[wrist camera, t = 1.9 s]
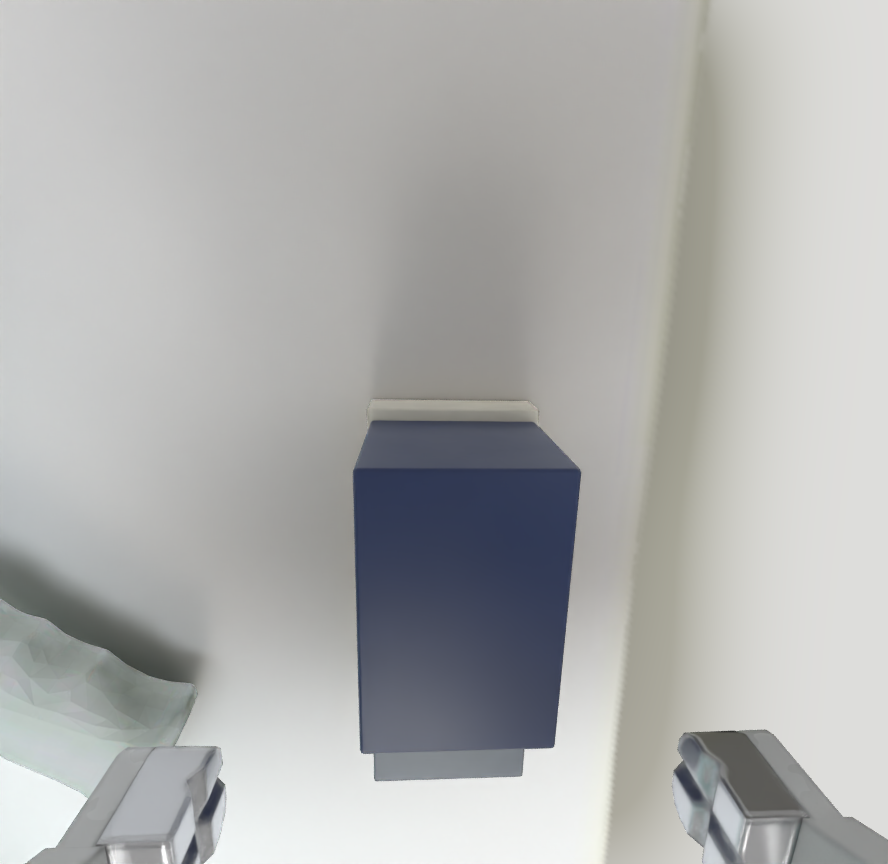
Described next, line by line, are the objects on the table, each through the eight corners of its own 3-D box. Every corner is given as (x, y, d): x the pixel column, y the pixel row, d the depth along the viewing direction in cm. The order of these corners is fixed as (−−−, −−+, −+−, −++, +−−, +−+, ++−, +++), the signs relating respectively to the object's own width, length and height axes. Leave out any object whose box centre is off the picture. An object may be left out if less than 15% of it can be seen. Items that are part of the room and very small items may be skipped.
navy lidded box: (370, 398, 14) (346, 452, 9) (529, 400, 14) (590, 453, 9) (375, 701, 16) (358, 871, 11) (509, 697, 16) (548, 863, 12)
